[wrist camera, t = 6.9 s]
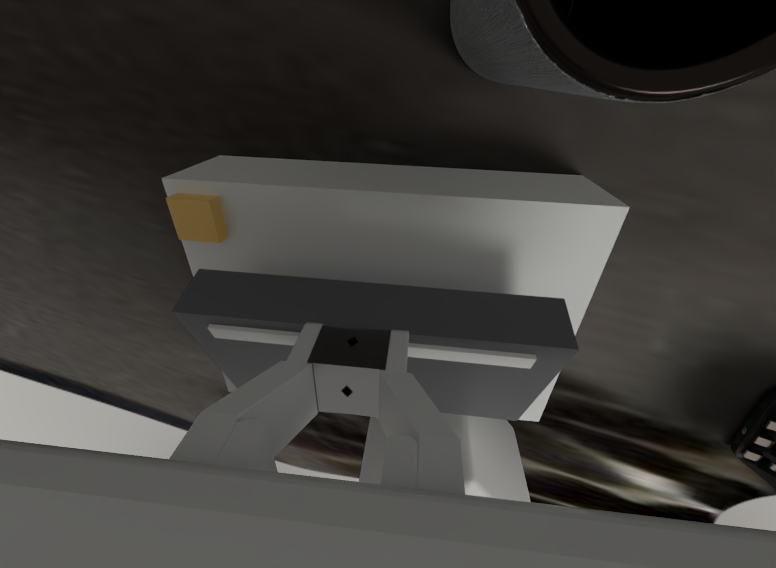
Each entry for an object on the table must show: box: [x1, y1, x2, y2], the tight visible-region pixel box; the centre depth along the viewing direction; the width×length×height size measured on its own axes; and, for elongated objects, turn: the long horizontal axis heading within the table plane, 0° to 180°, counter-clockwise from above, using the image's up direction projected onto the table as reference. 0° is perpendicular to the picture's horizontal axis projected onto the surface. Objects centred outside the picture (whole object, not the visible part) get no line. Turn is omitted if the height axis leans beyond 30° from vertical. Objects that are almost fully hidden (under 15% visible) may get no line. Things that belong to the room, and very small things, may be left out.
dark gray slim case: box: [172, 269, 579, 421], centre depth 13 cm, size 12×6×2 cm, turn 88°
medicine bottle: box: [359, 413, 530, 502], centre depth 18 cm, size 7×7×12 cm
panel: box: [161, 155, 630, 422], centre depth 16 cm, size 16×11×5 cm
